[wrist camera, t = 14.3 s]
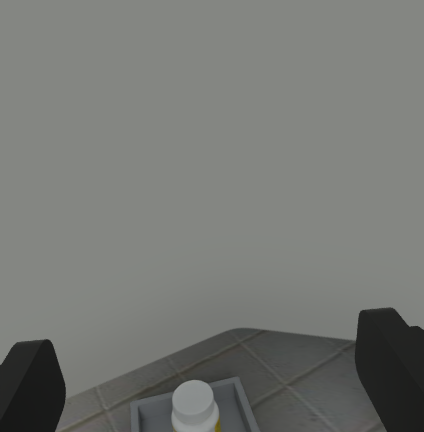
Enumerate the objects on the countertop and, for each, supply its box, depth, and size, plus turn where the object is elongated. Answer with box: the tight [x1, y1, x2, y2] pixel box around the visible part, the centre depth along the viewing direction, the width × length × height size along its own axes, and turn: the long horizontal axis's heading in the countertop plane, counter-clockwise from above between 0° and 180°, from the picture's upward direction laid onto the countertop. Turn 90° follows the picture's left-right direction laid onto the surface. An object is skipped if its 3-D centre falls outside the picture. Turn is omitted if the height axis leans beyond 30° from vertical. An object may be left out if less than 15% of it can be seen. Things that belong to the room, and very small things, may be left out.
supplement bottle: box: [171, 380, 221, 432], centre depth 37 cm, size 5×5×8 cm
